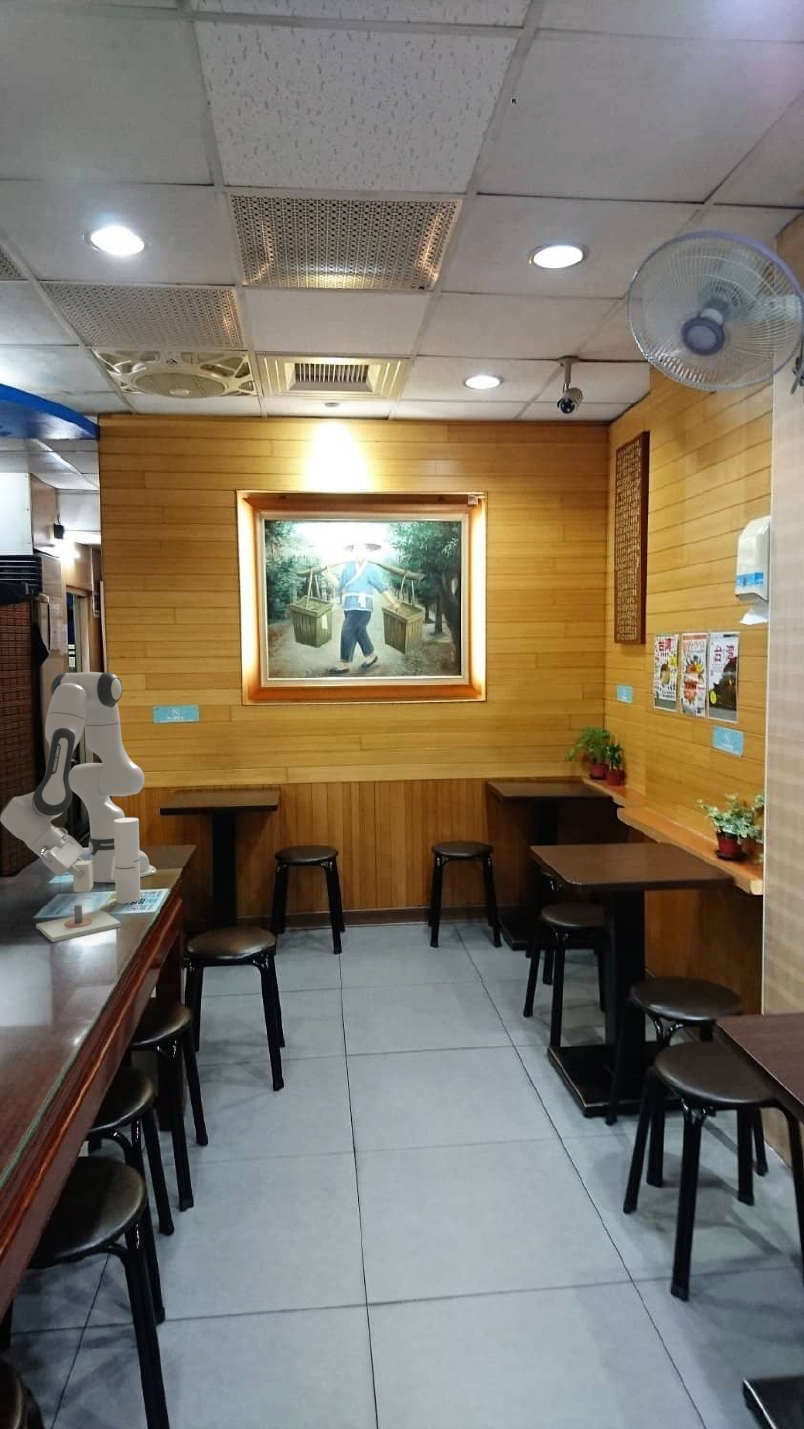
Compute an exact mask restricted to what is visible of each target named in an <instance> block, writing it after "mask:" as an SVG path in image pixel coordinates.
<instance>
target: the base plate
mask: <svg viewBox="0 0 804 1429" xmlns="http://www.w3.org/2000/svg"><path fill="white" fill-rule="evenodd" d="M73 909H74V910H73V911H74V912H73V913H74V915H73V916H69V917H68V916H67V917H63V918H58V919H54V920H49V921H44V922H39V923H35V924H36V926H35V928H36V929H37V930H38V929H39V930H40V931H41V932H42V933H41V932H40V931H39V930H38V931H39V932H40V933H41V934H43V935H44V936H45V937H46V938H47V939H48V940H50V941H51V942H52V943H56V942H59V941H64V940H69V939H73V938H76V937H77V938H78V937H81V936H86V935H90V934H95V933H99V932H103V931H108V930H112V929H117V928H120V927H122V926H121V925H122V924H121V922H120V921H119V920H117V919H116V918H114V917H113V916H112V915H110V914H108V913H107V912H105V911H104V910H102V909H101V910H98V911H97V910H96V911H91V912H87V913H86V912H85V913H83V905H82V904H74V905H73Z"/></svg>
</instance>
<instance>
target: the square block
mask: <svg viewBox="0 0 804 1429" xmlns="http://www.w3.org/2000/svg"><path fill="white" fill-rule="evenodd" d="M73 865H74V866H75V868H77V869H79V870H82V871H83V872H84V873H85V875H84V876H83V877H82V878H81V879H79V878H77V877H76V876H74V875H72V876H73V878H72V879H73V882H72V883H73V892H74V893H75V892H76V893H77V892H78V893H79V892H91V891H92V889H93V887H94V882H93V869H92V860H90V859H89V860H84V861H76V862H75V863H73Z"/></svg>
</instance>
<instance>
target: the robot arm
mask: <svg viewBox="0 0 804 1429" xmlns="http://www.w3.org/2000/svg"><path fill="white" fill-rule="evenodd" d="M50 694H51V699H50V702H49V706H48V708H47V713H46V718H45V729H44V732H45V734H44V736H45V739H46V741H47V743H48V747H49V748H48V749H49V751H48V758H47V763H46V768H45V772H44V773H45V774H44V776H43V779H42V780H41V782H40V783H39V784H38V785H37V787H36V788H35V790H34V791H33V792H30V793H26V794H24V795H20V796H14V797H12V798H11V799H10V800H9V801H8V802H7V803H6V804H5V805H4V807H3V808H2V810H1V811H0V822H1V824H2V825H3V826H4V827H5V828H6V829H7V830H8V831H9V832H10V833H11V834H12V835H13V836H15V838H17V839H19V840H21V841H23V842H24V843H25V845H26V846H27V847H28V848H29V849H30V850H31V851H33V853H34V854H36V855H37V856H38V857H40V859H41V861H42V863H43V864H44V865H45V866H46V867H47V868H48V869H49V870H50V871H51V872H52V873H53V874H55V875H56V876H58V877H62V876H63V875H64V874H65V873H66V872H67V873H68V874H71V875H72V876H73V875H74V876H76V877H77V878H79V879H81V878H82V877H83V876H84V875H85V873H84V872H83V871H82V870H79V869H77V868H75V866H74V865H73V864H74V863H75V862H76V861H85V860H84V859H83V858H82V857H81V855H82V854H83V853H84V852H85V849H84V847H83V846H82V845H81V844H80V843H79V842H78V841H77V840H76V839H75V838H74V837H73V836H72V835H70V834H69V833H68V831H69V830H66V829H65V827H58V826H55V825H53V824H52V823H51V821H53V820H54V819H56V818H58V817H60V816H61V815H63V813H65V811H67V810H68V809H69V807H70V806H71V804H72V801H73V793H75V794H76V795H77V796H78V797H79V798H80V799H81V801H82V803H83V804H84V805H85V808H86V810H87V813H88V818H89V832H90V834H89V835H90V836H89V839H88V851H89V852H88V853H89V860H92V869H93V883H114V884H115V845H114V820H116V819H120V818H126V816H125V812H124V810H123V809H122V808H121V807H120V806H117V805H116V804H115V803H114V802H113V801H112V799H111V797H127V796H133V795H137V794H139V793H140V792H141V790H142V789H143V787H144V784H145V774H144V771H143V770H142V769H141V767H140V766H139V765H137V764H135V763H134V761H132V759H131V758H130V757H129V755H128V754H127V752H126V749H125V746H124V744H123V739H122V729H121V718H120V710H119V705H118V702H119V701H120V699H121V698H122V696H123V695H122V694H123V684H122V681H121V678H119V677H118V675H116V674H115V673H112V672H106V671H105V672H98V671H84V672H73V673H70V672H64V673H61V674H58V675H56V676H55V677H54V679H53V680H52V682H51V686H50ZM84 731H85V742H86V747H87V749H88V750H89V751H90V752H92V753H94V754H95V755H97V756H98V757H99V759H100V760H101V762H87V763H81V764H76V765H74V766H73V767H72V768H71V765H72V761H73V760H72V759H73V753H74V752H75V749H76V748H77V746H78V744H79V743H80V741H81V738H82V736H83V732H84ZM72 792H73V793H72ZM139 857H140V858H139V859H140V878H143V877H146V876H151V875H154V874H156V873H157V869H156V867H155V866H153V865H151V864H150V861H149V858H148V855H147V854H146V853H145V852H144V851H142V850H140V849H139Z"/></svg>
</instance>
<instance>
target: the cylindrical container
mask: <svg viewBox="0 0 804 1429" xmlns="http://www.w3.org/2000/svg"><path fill="white" fill-rule="evenodd" d="M139 822H140V820H139V818H138V817H125V818H120V819H116V820H114V845H115V883H114V884H115V902H116V903H117V904H126V903H128V904H133V903H132V902H134V903H137V902H139V901H140V900H141V877H140V859H139V858H140V857H139V850H140V829H139V827H140V823H139ZM139 899H140V900H139ZM138 900H139V901H138ZM136 901H137V902H136Z"/></svg>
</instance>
